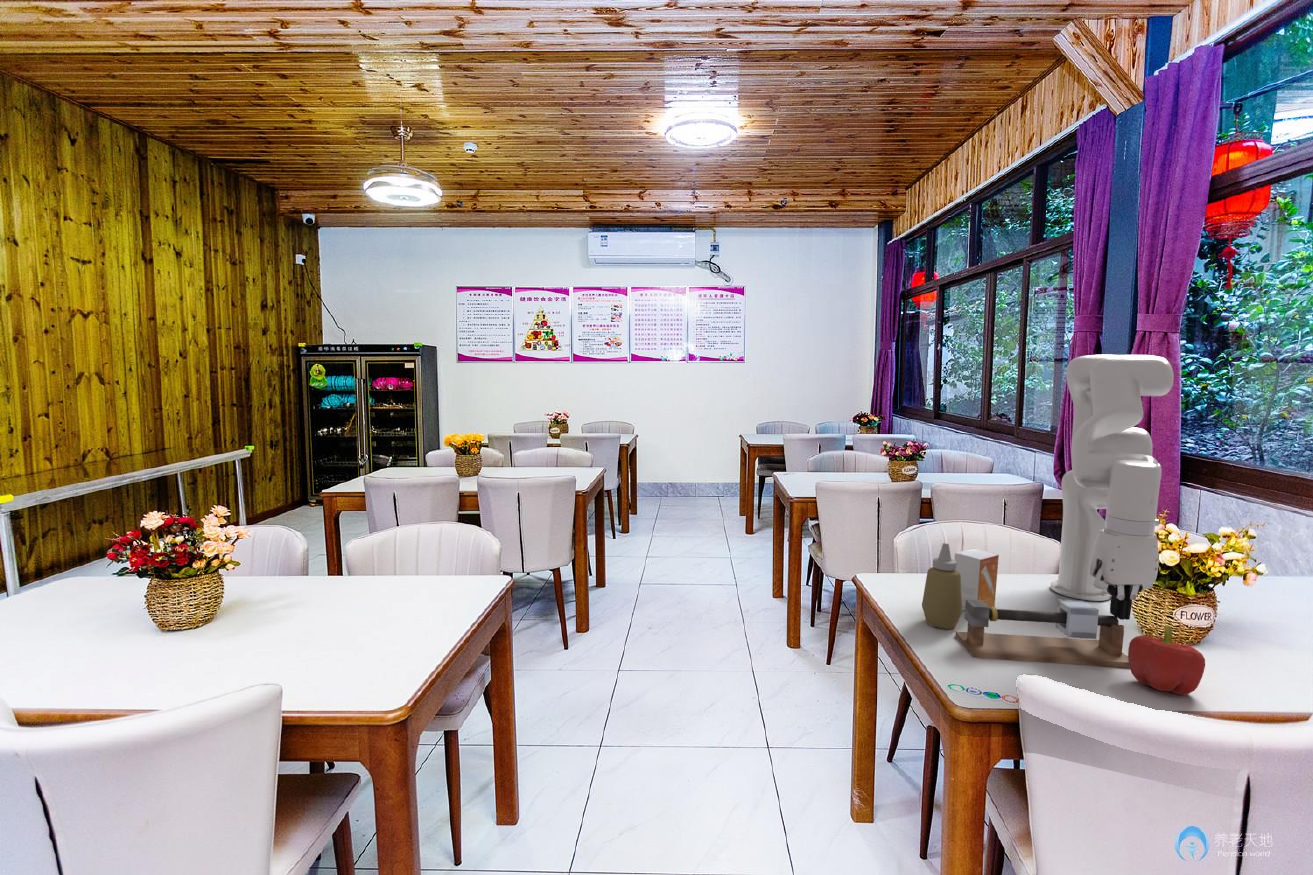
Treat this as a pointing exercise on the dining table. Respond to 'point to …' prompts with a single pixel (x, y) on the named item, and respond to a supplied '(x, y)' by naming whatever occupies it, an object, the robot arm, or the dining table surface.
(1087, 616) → the sleeve
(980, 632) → the rod stand
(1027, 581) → the dining table surface
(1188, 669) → the vegetable
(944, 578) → the squeeze bottle
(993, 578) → the small box
